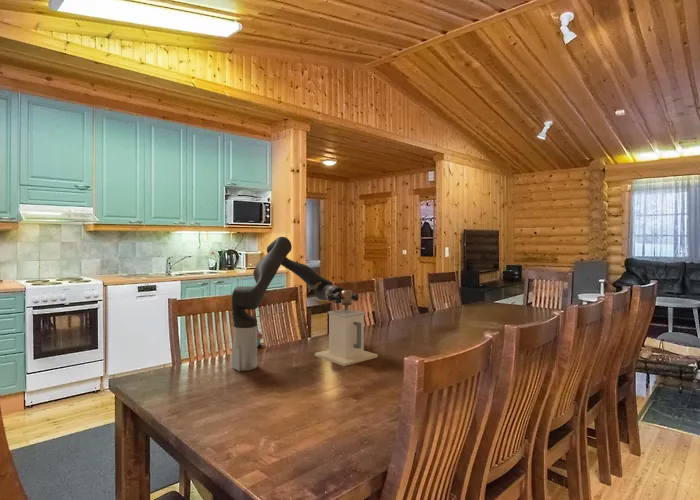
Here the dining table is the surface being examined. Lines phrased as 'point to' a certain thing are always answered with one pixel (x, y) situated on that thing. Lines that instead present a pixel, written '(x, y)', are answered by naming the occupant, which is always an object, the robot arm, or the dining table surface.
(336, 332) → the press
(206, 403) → the dining table surface
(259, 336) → the cupcake
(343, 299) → the plunger
